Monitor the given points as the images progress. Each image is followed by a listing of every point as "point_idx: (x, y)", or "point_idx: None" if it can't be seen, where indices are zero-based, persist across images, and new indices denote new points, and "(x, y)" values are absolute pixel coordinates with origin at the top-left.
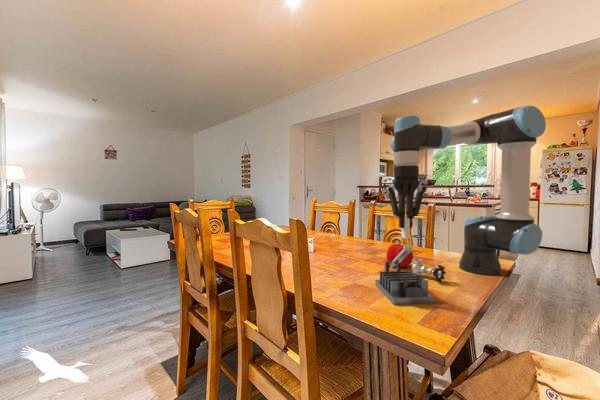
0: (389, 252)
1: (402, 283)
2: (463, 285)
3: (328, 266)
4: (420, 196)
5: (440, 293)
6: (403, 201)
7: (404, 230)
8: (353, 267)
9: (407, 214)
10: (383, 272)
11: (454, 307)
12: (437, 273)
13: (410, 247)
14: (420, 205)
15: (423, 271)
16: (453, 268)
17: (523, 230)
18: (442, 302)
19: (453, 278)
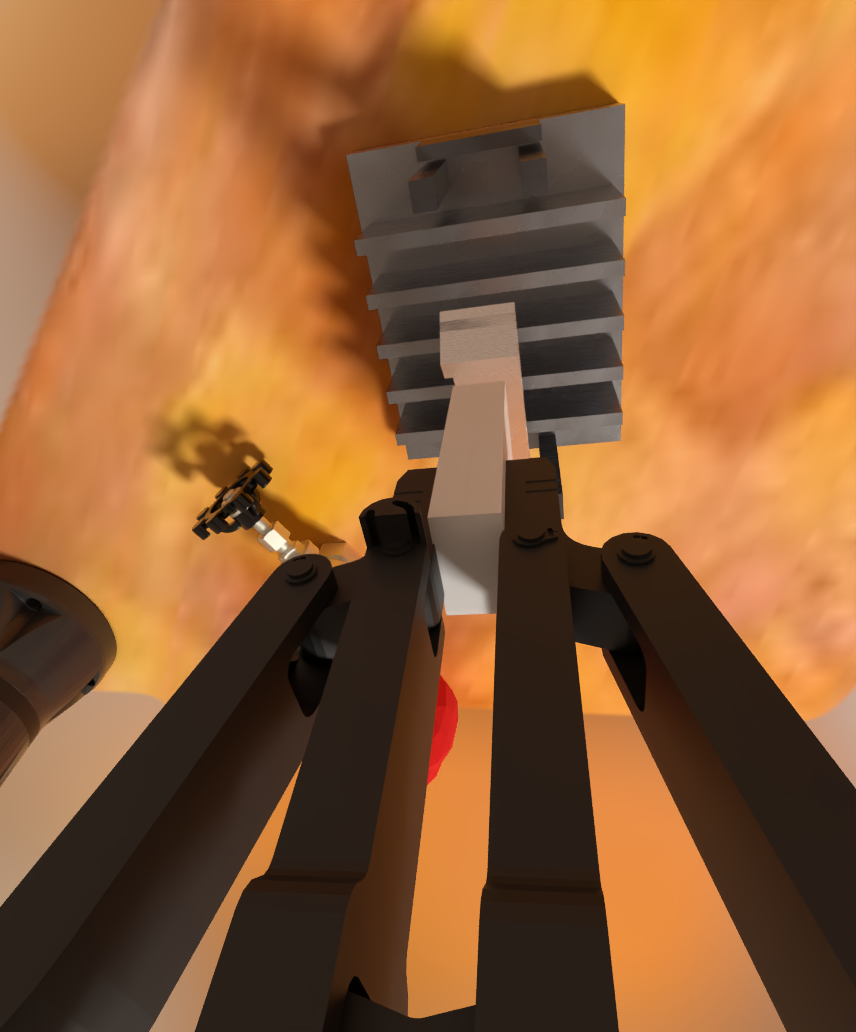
0: (444, 729)
1: (538, 209)
2: (141, 430)
3: (782, 688)
4: (74, 889)
5: (283, 312)
6: (540, 773)
7: (504, 438)
8: None
9: (428, 629)
10: (599, 413)
11: (256, 89)
12: (246, 483)
13: (453, 333)
14: (176, 693)
15: (309, 543)
16: (145, 640)
17: None
18: (305, 169)
19: (171, 521)
